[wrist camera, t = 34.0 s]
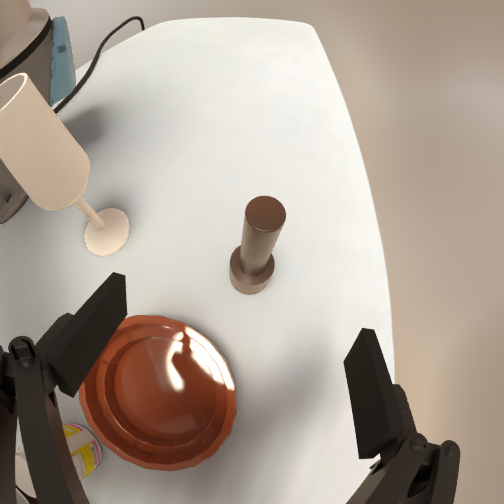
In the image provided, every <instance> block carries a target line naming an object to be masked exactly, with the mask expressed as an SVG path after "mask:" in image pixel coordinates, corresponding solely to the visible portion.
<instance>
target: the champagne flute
mask: <svg viewBox="0 0 504 504" xmlns="http://www.w3.org/2000/svg"><path fill="white" fill-rule="evenodd" d="M0 158H1V160H2V161H3V163H4V164H5V165H6V167H7V168H8V169H9V171H10V172H11V174H12V175H13V176H14V178H15V179H16V180H17V182H18V183H19V184H20V185H21V187H22V188H23V189H24V191H25V192H26V193H27V194H28V196H29V197H30V198H31V199H32V201H33V202H34V203H35V204H36V205H37V206H38V207H40V208H42V209H44V210H49V211H55V210H60V209H64V208H67V207H69V206H70V205H72V204H73V203H74V204H75V205H76V206H77V207H78V208H79V209H80V210H81V212H82V213H83V214H84V215H85V216H86V217H87V218H88V219H89V220H90V221H89V222H88V224H87V226H86V230H85V243H86V246H87V248H88V249H89V250H90V251H91V252H92V253H93V254H96V255H99V256H107V255H111V254H113V253H115V252H116V251H118V250H119V249H120V248H121V247H122V246H123V245H124V243H125V242H126V240H127V238H128V235H129V230H130V225H129V220H128V218H127V216H126V215H125V214H124V213H123V212H122V211H121V210H119V209H116V208H107V209H104V210H101V211H99V212H98V213H96V212H95V211H94V210H93V208H92V207H91V206H90V205H89V204H88V202H87V201H86V200H85V199H84V198H83V196H82V194H83V192H84V191H85V189H86V186H87V184H88V180H89V176H90V161H89V158H88V156H87V154H86V153H85V151H84V150H83V149H82V148H81V146H80V145H79V144H78V143H77V141H76V140H75V139H74V138H73V136H72V135H71V134H70V132H69V131H68V130H67V129H66V127H65V126H64V125H63V123H62V122H61V121H60V119H59V118H58V117H57V115H56V114H55V113H54V111H53V110H52V109H51V107H50V106H49V105H48V103H47V102H46V101H45V99H44V98H43V96H42V95H41V94H40V92H39V91H38V90H37V88H36V87H35V85H34V84H33V82H32V81H31V80H30V78H29V77H28V75H27V74H26V73H19V74H16V75H14V76H12V77H10V78H8V79H7V80H6V81H4V82H3V83H1V84H0Z"/></svg>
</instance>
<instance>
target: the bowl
mask: <svg viewBox="0 0 504 504" xmlns="http://www.w3.org/2000/svg"><path fill="white" fill-rule="evenodd" d="M79 400H80V404H81V406H82V409H83V412H84V414H85V417H86V419H87V422H88V423H89V426H90V427H91V428H92V430H93V431H94V433H95V434H96V435H97V437H98V438H99V439H100V440H101V442H102V443H103V444H104V445H105V446H107V447H108V448H109V449H110V450H112V451H113V452H114V453H115V454H117V455H118V456H119V457H121V458H122V459H124V460H126V461H128V462H131V463H133V464H136V465H138V466H141V467H143V468H147V469H152V470H162V471H175V470H180V469H185V468H189V467H193V466H196V465H198V464H199V463H201V462H203V461H204V460H206V459H208V458H209V457H211V456H212V455H214V454H215V453H216V452H217V451H218V449H219V448H220V447H221V445H222V444H223V443H224V442H225V440H226V439H227V438H228V436H229V435H230V432H231V429H232V425H233V422H234V419H235V415H236V411H237V410H236V393H235V382H234V378H233V375H232V373H231V370H230V368H229V365H228V363H227V360H226V358H225V357H224V356H223V354H222V353H221V352H220V351H219V349H218V348H217V347H216V346H215V344H214V343H213V342H212V341H211V340H210V339H208V338H207V337H205V336H204V335H202V334H201V333H200V332H198V331H197V330H195V329H194V328H192V327H190V326H188V325H187V324H185V323H182V322H179V321H176V320H172V319H170V318H167V317H164V316H160V315H135V316H131V317H128V318H125V319H124V320H123V321H122V323H121V324H120V326H119V327H118V329H117V330H116V332H115V333H114V335H113V336H112V338H111V339H110V341H109V342H108V344H107V345H106V347H105V348H104V350H103V351H102V353H101V354H100V356H99V358H98V359H97V361H96V362H95V364H94V365H93V367H92V368H91V370H90V372H89V373H88V375H87V376H86V378H85V380H84V381H83V383H82V385H81V386H80V388H79Z"/></svg>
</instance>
